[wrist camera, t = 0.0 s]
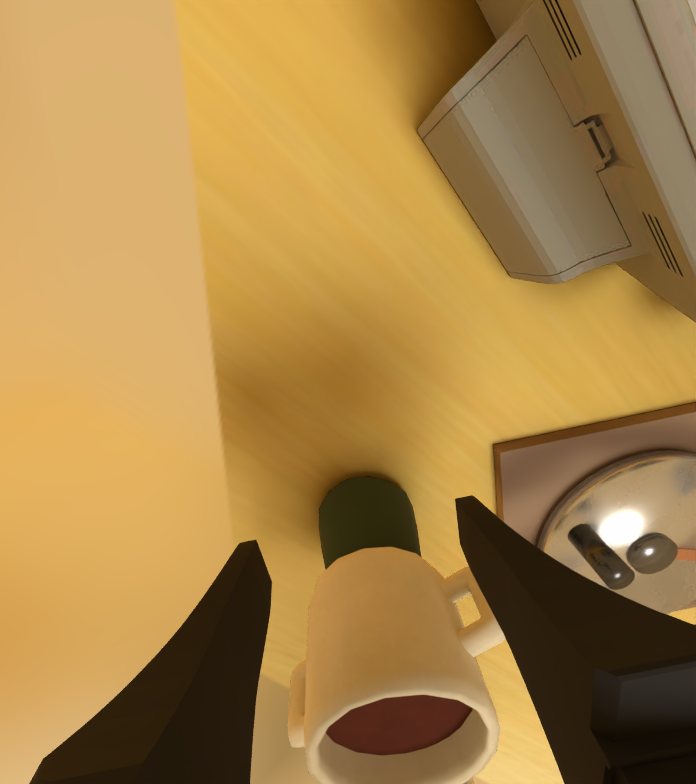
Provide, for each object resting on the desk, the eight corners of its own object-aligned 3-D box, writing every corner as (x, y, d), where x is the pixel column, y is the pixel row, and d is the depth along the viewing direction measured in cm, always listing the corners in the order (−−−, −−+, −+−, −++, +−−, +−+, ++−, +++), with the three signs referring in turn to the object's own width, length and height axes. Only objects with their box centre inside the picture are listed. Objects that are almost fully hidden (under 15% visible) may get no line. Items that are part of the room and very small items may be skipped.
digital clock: (650, 259, 20) (960, 271, 10) (498, 340, 22) (649, 419, 12) (568, -119, 15) (1071, -864, 5) (369, 16, 16) (446, -365, 6)
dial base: (721, 588, 30) (742, 605, 29) (504, 632, 31) (514, 651, 29) (770, 386, 24) (800, 396, 22) (493, 444, 24) (504, 457, 22)
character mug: (333, 579, 27) (341, 843, 15) (268, 518, 25) (217, 774, 13) (459, 500, 25) (584, 731, 13) (402, 427, 23) (490, 627, 11)
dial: (717, 589, 28) (789, 651, 24) (536, 625, 29) (575, 694, 24) (755, 430, 23) (855, 472, 19) (534, 475, 23) (583, 527, 19)
